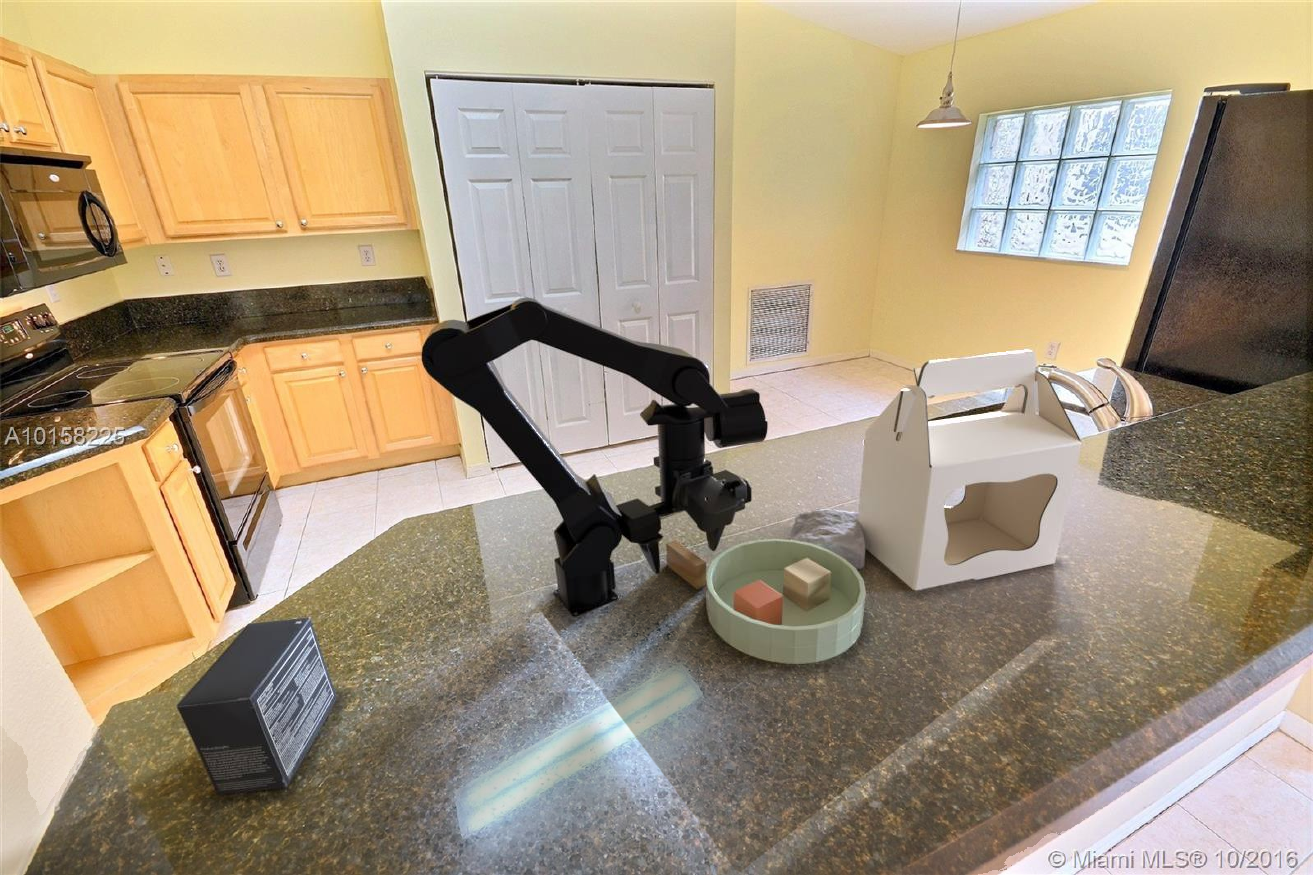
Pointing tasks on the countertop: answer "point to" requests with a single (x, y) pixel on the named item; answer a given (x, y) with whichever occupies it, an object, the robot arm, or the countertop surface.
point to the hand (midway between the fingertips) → (685, 560)
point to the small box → (260, 706)
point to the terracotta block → (759, 603)
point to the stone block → (832, 533)
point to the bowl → (785, 603)
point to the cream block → (806, 584)
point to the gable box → (968, 475)
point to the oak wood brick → (686, 564)
